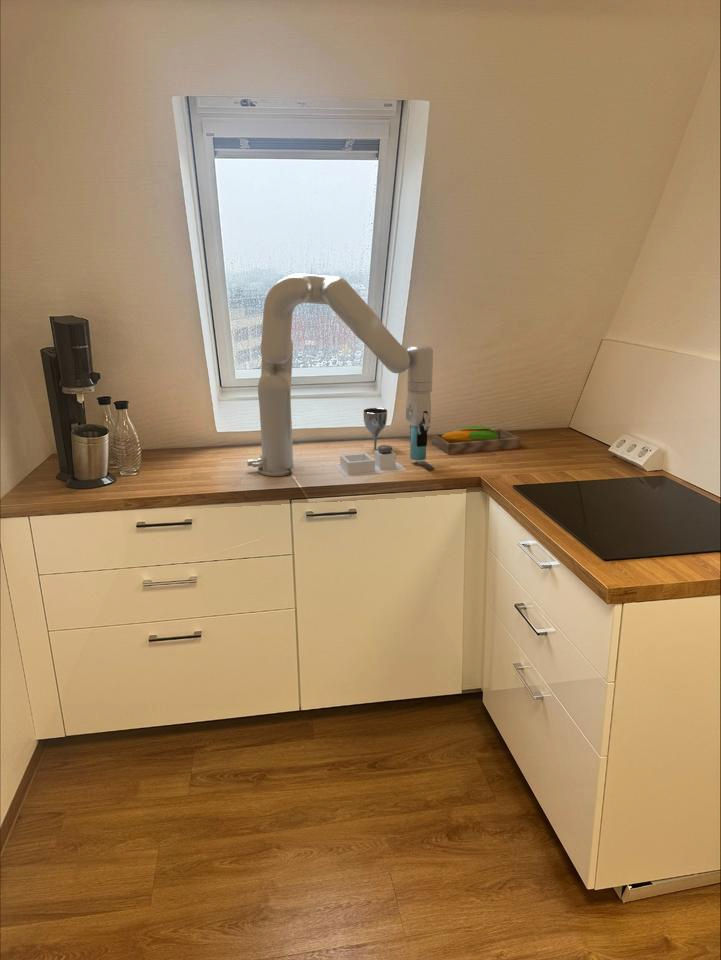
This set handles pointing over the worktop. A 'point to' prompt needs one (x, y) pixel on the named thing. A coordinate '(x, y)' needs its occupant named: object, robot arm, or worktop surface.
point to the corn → (471, 435)
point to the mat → (425, 465)
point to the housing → (368, 464)
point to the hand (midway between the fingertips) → (418, 443)
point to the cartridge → (416, 451)
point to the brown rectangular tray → (477, 443)
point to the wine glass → (375, 421)
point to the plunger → (385, 449)
